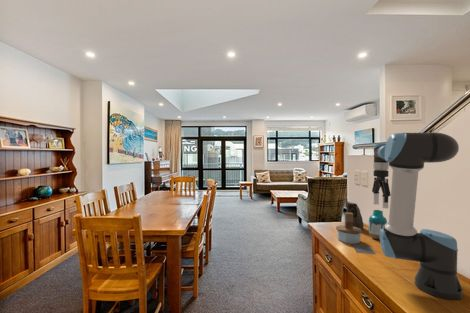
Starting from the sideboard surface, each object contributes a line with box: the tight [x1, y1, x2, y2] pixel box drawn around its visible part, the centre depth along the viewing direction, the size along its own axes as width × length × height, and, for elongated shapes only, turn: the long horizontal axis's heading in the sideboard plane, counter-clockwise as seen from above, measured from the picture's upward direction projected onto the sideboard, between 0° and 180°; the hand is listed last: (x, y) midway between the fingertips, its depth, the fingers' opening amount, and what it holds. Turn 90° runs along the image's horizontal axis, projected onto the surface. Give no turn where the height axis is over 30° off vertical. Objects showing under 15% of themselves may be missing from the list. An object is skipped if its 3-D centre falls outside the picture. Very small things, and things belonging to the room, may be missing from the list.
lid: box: [335, 211, 363, 234], centre depth 157 cm, size 15×15×11 cm
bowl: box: [336, 230, 362, 245], centre depth 157 cm, size 13×13×7 cm
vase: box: [368, 209, 388, 241], centre depth 162 cm, size 11×11×19 cm
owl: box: [345, 201, 364, 231], centre depth 187 cm, size 13×13×20 cm
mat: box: [351, 243, 377, 255], centre depth 142 cm, size 14×10×1 cm
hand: (380, 206), depth 142 cm, fingers open, 13 cm apart
